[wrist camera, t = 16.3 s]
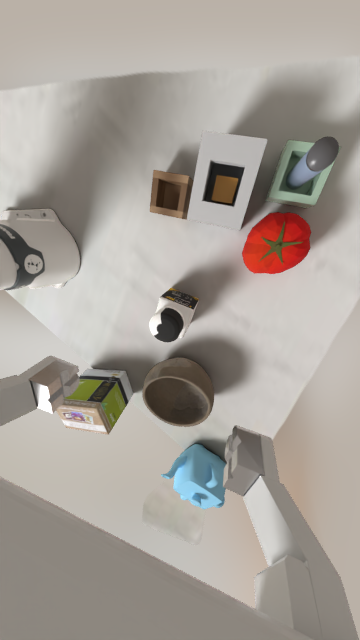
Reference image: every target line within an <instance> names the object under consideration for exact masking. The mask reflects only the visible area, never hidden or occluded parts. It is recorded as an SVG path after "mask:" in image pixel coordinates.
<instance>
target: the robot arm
mask: <svg viewBox="0 0 360 640" xmlns="http://www.w3.org/2000/svg"><path fill="white" fill-rule="evenodd" d="M79 266H80V256H79V251H78V247H77V245H76V242H75V240H74V239H73V237H72V235H71V234H70V233H69V231H68V230H67V229H66V228H65V227H64V226H63V225H62V224H61V223H60V221H59V219H58V217H57V216H56V214H55V212H54V211H53V210H52V209H30V210H6V211H2V214H1V220H0V290H12V289H19V288H22V287H25V286H27V287H29V288H31V289H38V288H43V287H47V286H54V287H56V288H62V287H63V286H64V285H65V283H66V282H67V281H68V280H70V279H72V278H73V277H74V276H75V275H76V274H77V272H78V270H79ZM78 371H79V369H78V366H76V365H73V364H71V363H68V362H66V361H64V360H61V359H59V358H56V357H53V356H49V357H46V358H45V359H43V360H42V361H40V362H39V363H38V364H36V365H34V366H33V367H31V368H30V369H28V370H27V371H25V372H24V373H22V374H20V375H19V376H17V375H14V376H10V377H7V378H3V379H0V426H2V425H4V424H6V423H8V422H10V421H12V420H14V419H16V418H18V417H21V416H23V415H25V414H27V413H29V412H31V411H33V410H35V409H37V408H40V409H42V410H45V411H47V412H50V413H54V411H56V410H57V409H58V408H59V407H60V406H61V405H62V404H63V403H64V399H65V397H68V396H71V395H72V394H73V393H74V392H75V391H76V389H77V387H78V386H79V382H80V379H79V376H78V375H77V372H78ZM225 460H226V462H227V464H226V466H225V468H224V476H223V487H224V488H226V489H228V490H231V491H233V492H235V493H237V494H239V495H241V496H244V497H243V499H244V501H245V504H246V507H247V510H248V512H249V515H250V518H251V520H252V523H253V526H254V528H255V531H256V534H257V536H258V539H259V541H260V544H261V546H262V550H263V552H264V555H265V558H266V560H267V563H268V566H269V567H268V568H266V569H265V570H263V571H262V572H260V573H258V574H257V575H256V576H255V577H254V580H255V604H256V609H254V608H252V607H250V606H248V605H247V604H245V603H243V602H241V601H239V600H237V599H235V598H233V597H231V596H229V595H227V594H225V593H224V592H222V591H220V590H218V589H216V588H214V587H212V586H210V585H208V584H206V583H204V582H202V581H200V580H198V579H197V578H195V577H193V576H191V575H189V574H187V573H185V572H183V571H181V570H179V569H177V568H175V567H173V566H172V565H170V564H168V563H166V562H164V561H162V560H160V559H158V558H156V557H154V556H152V555H150V554H148V553H147V552H145V551H143V550H141V549H139V548H137V547H135V546H133V545H131V544H129V543H127V542H125V541H123V540H122V539H119V538H118V537H116V536H114V535H112V534H110V533H108V532H106V531H104V530H102V529H100V528H98V527H97V526H94V525H92V524H90V523H89V522H87V521H85V520H83V519H81V518H79V517H77V516H75V515H73V514H72V513H70V512H68V511H66V510H64V509H62V508H60V507H58V506H56V505H54V504H52V503H50V502H48V501H46V500H44V499H43V498H41V497H39V496H37V495H35V494H33V493H31V492H29V491H27V490H25V489H23V488H22V487H20V486H18V485H15V484H14V483H12V482H10V481H8V480H6V479H4V478H2V477H0V640H359V638H358V635H357V631H356V628H355V625H354V621H353V618H352V614H351V611H350V608H349V604H348V601H347V597H346V594H345V591H344V587H343V584H342V581H341V577H340V576H339V574H338V572H337V571H336V569H335V568H334V566H333V564H332V563H331V561H330V559H329V558H328V556H327V555H326V553H325V551H324V550H323V548H322V547H321V545H320V543H319V542H318V540H317V538H316V537H315V535H314V533H313V532H312V530H311V528H310V527H309V525H308V524H307V522H306V520H305V519H304V517H303V515H302V514H301V512H300V511H299V509H298V507H297V505H296V504H295V502H294V501H293V499H292V497H291V496H290V494H289V492H288V491H287V489H286V488H285V486H284V484H282V483H280V482H279V476H278V470H277V464H276V458H275V453H274V446H273V441H272V439H271V438H270V437H267V436H264V435H261V434H258V433H257V432H254V431H251V430H248V429H246V428H243V427H240V426H237V425H236V426H234V428H233V434H232V435H230V436H229V438H228V440H227V443H226V448H225Z"/></svg>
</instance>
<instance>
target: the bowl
mask: <svg viewBox="0 0 360 640" xmlns="http://www.w3.org/2000/svg"><path fill="white" fill-rule="evenodd" d="M143 400H144V403H145V405H146V406H147V408H148V409H149V410H150V411H151V412H152V413H153V414H154V415H155V416H156V417H158V418H159V419H160V420H162V421H164V422H166V423H168V424H171V425H174V426H184V427H189V426H194V425H197V424H200V423H202V422H203V421H204V420H205V419H206V418H207V417H208V416H209V415H210V413H211V411H212V407H213V403H214V390H213V385H212V382H211V380H210V378H209V376H208V375H207V373H206V372H205V370H204V369H203V368H202V367H201V366H200V365H199V364H197V363H196V362H194V361H192V360H189V359H186V358H173V359H168V360H165V361H162V362H160V363H158V364H156V365H155V366H154V367H153V368H152V369H151V370H150V371H149V373H148V374H147V376H146V378H145V381H144V385H143Z"/></svg>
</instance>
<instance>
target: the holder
mask: <svg viewBox="0 0 360 640" xmlns="http://www.w3.org/2000/svg"><path fill="white" fill-rule="evenodd" d="M192 187H193V180H192V179H191V178H190V177H189V176H186V175H180V174H175V173H169V172H163V171H157V170H154V172H153V182H152V193H151V203H150V212H153V213H158V214H163V215H167V216H172V217H177V218H182V219H186V220H187V215H188V209H189V204H190V198H191V193H192Z"/></svg>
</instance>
